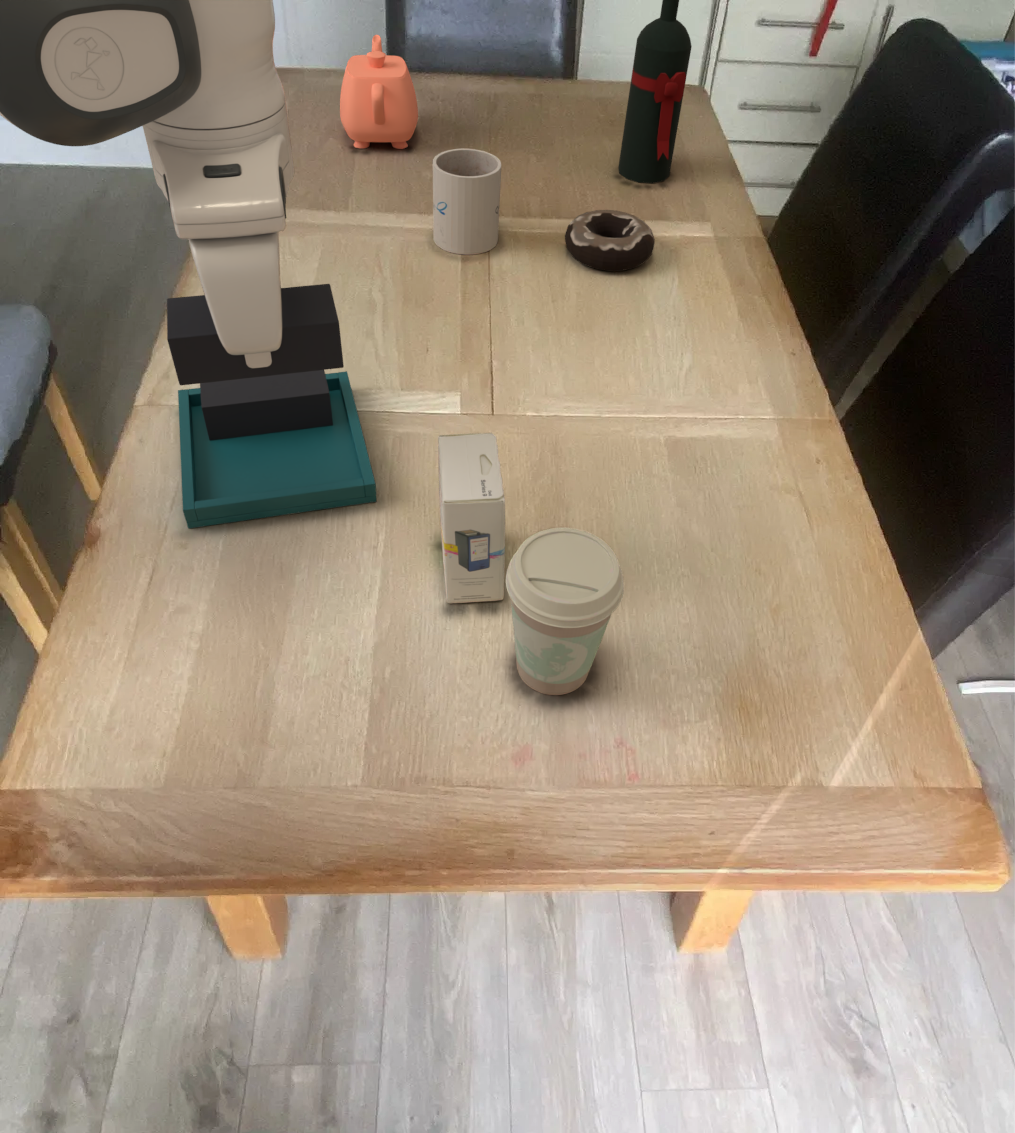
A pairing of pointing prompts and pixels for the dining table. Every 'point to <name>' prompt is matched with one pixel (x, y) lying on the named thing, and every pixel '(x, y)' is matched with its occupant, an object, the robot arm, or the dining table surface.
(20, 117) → the robot arm
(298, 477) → the teal tray
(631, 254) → the donut
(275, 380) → the black rectangular block
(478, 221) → the mug
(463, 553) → the ink box
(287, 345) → the loose pad
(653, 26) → the wine bottle
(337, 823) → the dining table surface
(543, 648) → the coffee cup
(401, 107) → the teapot
